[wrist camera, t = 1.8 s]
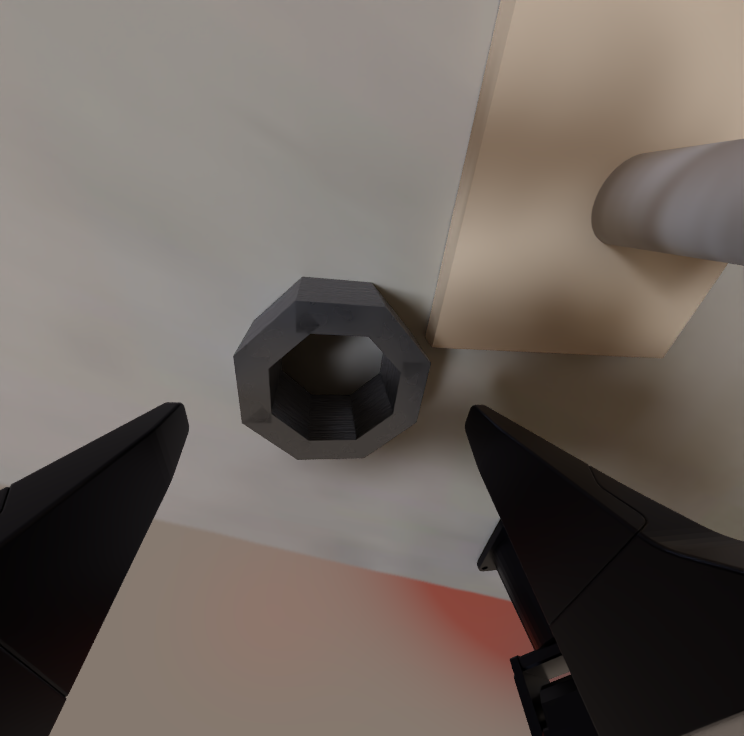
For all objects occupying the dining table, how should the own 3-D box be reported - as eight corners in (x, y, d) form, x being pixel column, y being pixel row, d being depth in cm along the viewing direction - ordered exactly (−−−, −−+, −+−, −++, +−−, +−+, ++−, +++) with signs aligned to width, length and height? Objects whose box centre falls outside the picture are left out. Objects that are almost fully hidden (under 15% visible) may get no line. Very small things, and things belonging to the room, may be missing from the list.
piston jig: (643, 349, 15) (808, 426, 10) (424, 337, 13) (492, 429, 8) (858, 12, 9) (1527, -223, 4) (526, -113, 7) (1062, -939, 2)
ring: (393, 412, 15) (407, 456, 12) (261, 411, 14) (246, 460, 11) (417, 286, 12) (443, 310, 9) (249, 272, 11) (225, 295, 8)
